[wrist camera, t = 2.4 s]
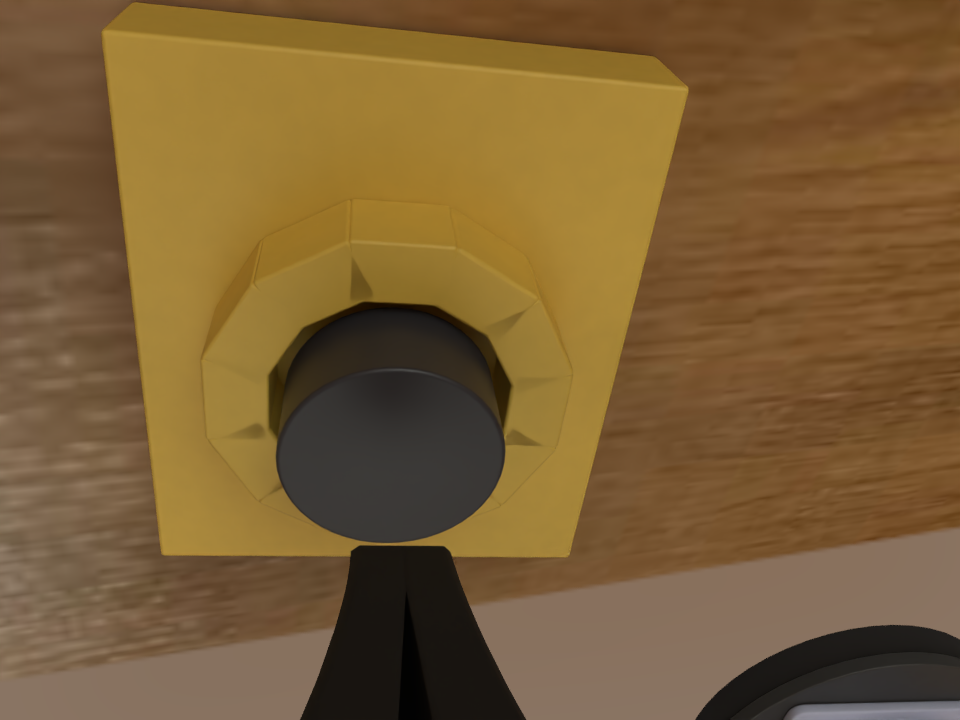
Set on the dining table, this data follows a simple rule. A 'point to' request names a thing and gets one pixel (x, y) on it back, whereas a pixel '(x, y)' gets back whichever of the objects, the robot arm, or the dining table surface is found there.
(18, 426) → the dining table surface
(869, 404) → the dining table surface
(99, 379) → the dining table surface
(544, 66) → the block
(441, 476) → the button
